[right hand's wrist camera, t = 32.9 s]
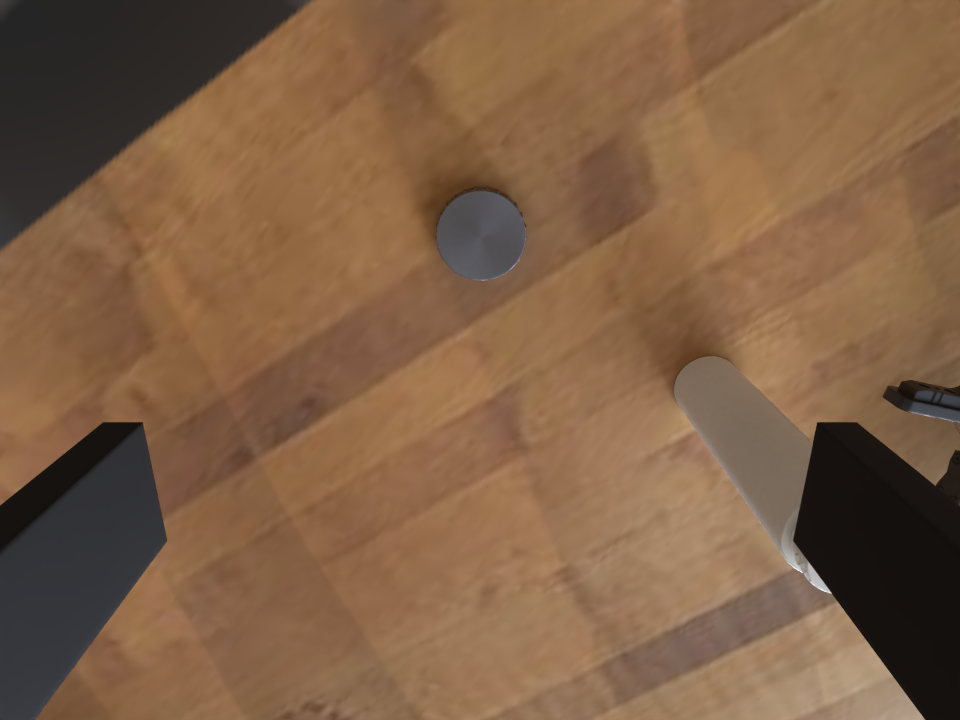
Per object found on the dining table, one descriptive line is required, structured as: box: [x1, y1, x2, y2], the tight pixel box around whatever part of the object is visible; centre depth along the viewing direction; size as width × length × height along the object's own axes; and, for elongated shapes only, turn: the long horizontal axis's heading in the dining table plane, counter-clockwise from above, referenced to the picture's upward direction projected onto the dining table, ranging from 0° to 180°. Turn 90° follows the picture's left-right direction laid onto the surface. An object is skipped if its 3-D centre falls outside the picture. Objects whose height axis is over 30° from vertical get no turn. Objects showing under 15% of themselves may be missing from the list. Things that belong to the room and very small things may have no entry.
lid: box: [436, 187, 527, 280], centre depth 39 cm, size 6×6×2 cm
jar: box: [674, 356, 831, 593], centre depth 35 cm, size 4×4×18 cm
